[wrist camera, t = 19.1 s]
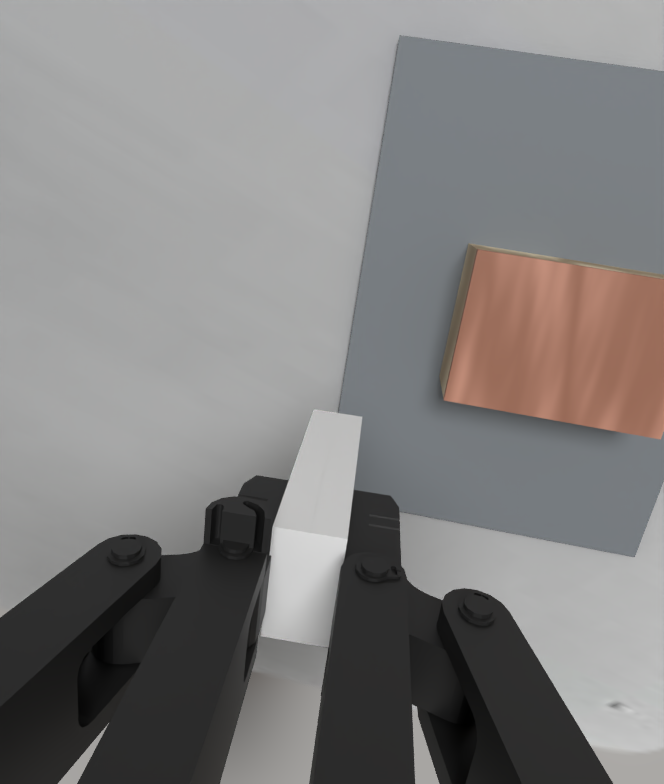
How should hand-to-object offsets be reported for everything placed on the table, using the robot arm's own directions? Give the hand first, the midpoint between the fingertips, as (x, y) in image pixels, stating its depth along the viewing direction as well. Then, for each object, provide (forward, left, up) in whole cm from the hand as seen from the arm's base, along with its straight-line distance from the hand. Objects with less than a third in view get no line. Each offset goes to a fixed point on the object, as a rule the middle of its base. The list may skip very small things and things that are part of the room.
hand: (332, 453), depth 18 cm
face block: (+4, +3, -12) cm, 13 cm away
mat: (+8, +3, -15) cm, 17 cm away
